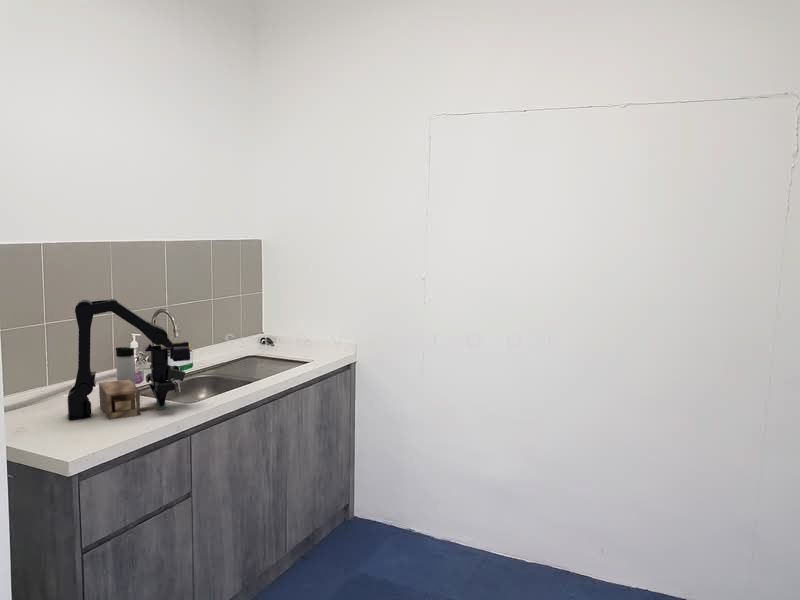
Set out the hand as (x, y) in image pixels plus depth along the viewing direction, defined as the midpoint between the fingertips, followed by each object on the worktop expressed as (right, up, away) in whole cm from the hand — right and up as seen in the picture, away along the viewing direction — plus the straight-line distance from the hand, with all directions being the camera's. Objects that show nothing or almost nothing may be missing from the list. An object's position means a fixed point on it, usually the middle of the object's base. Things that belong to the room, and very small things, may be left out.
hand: (161, 405), depth 225 cm
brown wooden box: (-13, -1, -4) cm, 14 cm away
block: (-6, -1, -4) cm, 7 cm away
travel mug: (-17, 0, +11) cm, 21 cm away
